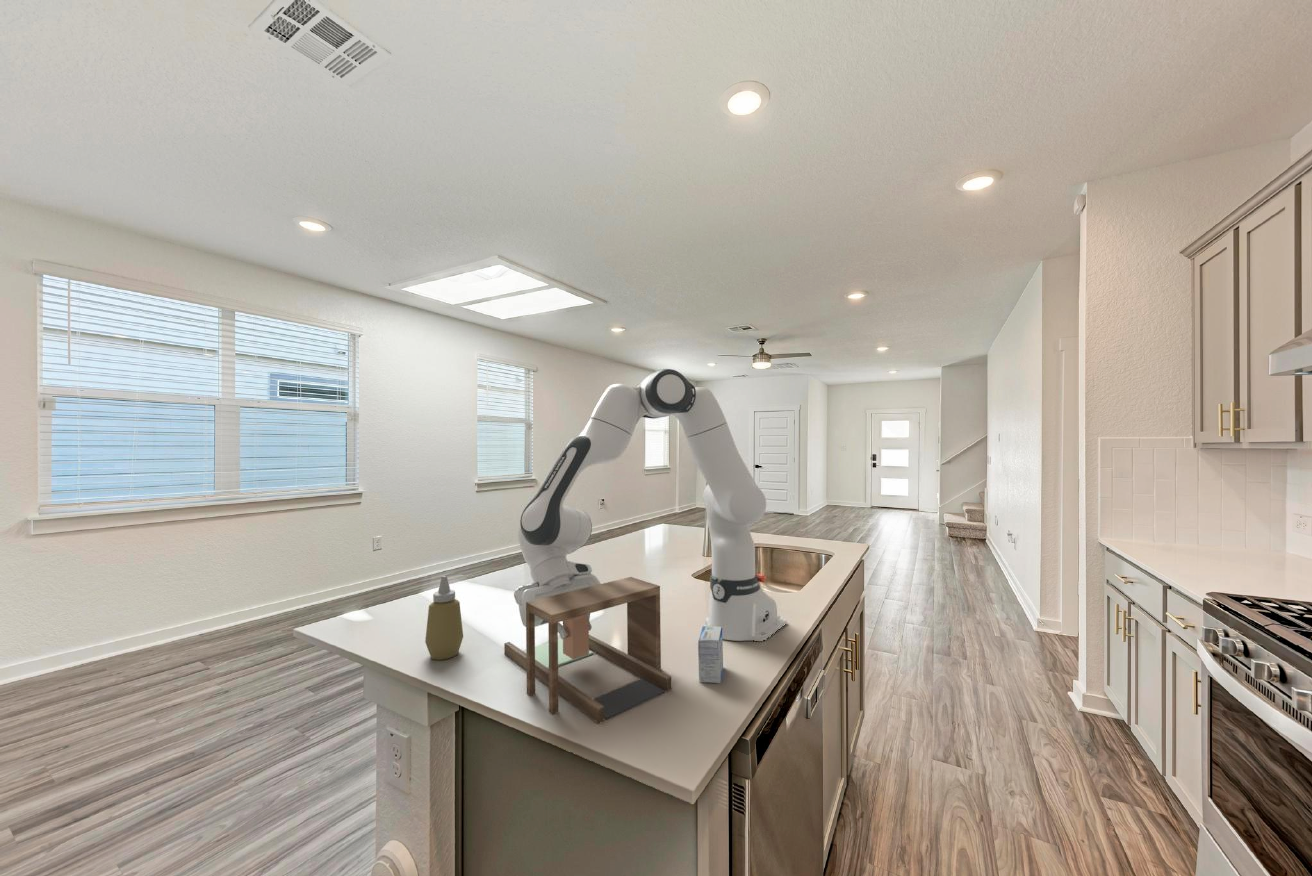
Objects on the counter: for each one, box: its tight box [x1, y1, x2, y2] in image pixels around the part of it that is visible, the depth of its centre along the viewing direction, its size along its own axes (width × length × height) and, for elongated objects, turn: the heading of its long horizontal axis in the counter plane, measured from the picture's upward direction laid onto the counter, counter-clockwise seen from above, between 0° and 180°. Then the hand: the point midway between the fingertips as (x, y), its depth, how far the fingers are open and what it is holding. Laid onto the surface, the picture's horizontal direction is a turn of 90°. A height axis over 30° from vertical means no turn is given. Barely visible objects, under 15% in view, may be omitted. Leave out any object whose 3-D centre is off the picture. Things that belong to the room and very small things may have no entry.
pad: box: [522, 638, 594, 668], centre depth 112 cm, size 13×12×1 cm
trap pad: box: [593, 677, 666, 721], centre depth 92 cm, size 14×7×1 cm, turn 131°
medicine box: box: [697, 625, 724, 684], centre depth 101 cm, size 8×4×9 cm, turn 168°
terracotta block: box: [562, 615, 590, 659], centre depth 105 cm, size 4×4×8 cm
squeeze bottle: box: [424, 575, 464, 661], centre depth 112 cm, size 8×8×18 cm
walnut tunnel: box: [503, 576, 672, 724], centre depth 103 cm, size 26×38×18 cm
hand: (577, 633), depth 104 cm, fingers closed on terracotta block, 4 cm apart
